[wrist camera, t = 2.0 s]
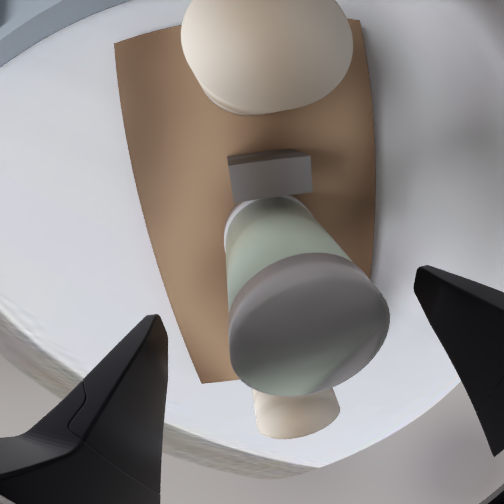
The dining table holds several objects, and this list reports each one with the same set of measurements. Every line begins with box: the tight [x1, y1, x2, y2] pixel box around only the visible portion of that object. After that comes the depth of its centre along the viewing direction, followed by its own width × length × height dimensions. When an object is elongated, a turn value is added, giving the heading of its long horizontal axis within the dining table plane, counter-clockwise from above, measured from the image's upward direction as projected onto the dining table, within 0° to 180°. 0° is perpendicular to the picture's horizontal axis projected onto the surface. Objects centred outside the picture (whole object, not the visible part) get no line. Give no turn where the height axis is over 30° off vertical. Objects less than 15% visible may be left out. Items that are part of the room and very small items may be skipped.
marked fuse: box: [224, 195, 390, 397], centre depth 11 cm, size 4×4×8 cm
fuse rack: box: [114, 0, 376, 439], centre depth 12 cm, size 12×22×7 cm, turn 7°
